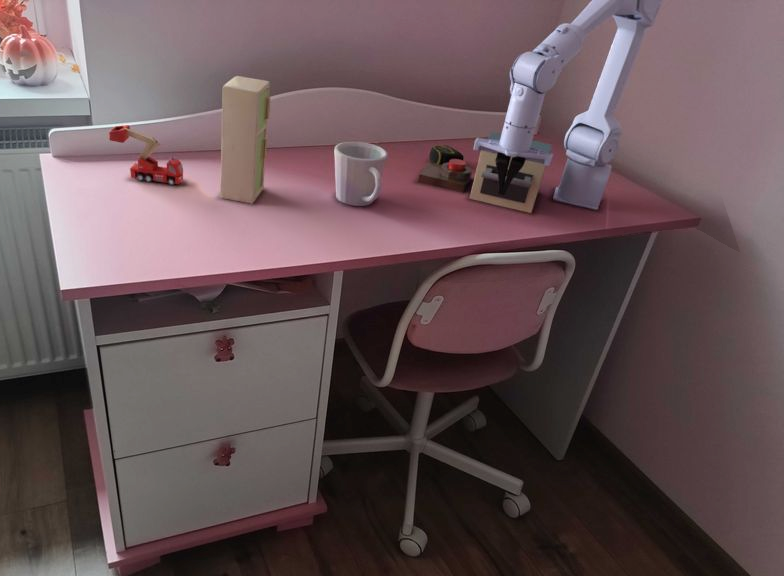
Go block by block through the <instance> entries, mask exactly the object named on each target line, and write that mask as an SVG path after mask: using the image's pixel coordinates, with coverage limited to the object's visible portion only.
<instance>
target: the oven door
mask: <svg viewBox="0 0 784 576" xmlns="http://www.w3.org/2000/svg"><path fill="white" fill-rule="evenodd" d="M496 157H497V154H494V153H490V152H485V151H481V150H480V153H479V158H478V161H477V166H476V170H475V174H474V179H473V182H472V186H471V190H470V195H469V200H473V201H477V202H482V203H485V204H490V205H494V206H498V207H502V208H503V207H504V208H507V209H512V210H516V211H520V212H523V213H529V214H532V212H533V209H534V206H535V203H536V200H535V199H537V197H538V193H539V190H540V187H539V186H541V184H540V183H542V180H543V177H544V174H543V173H545V171H546V167H545V165H544V164H541V163H536V162H532V161H527V160H525V163H524V165H523V167H522V168H521V169H520V171H519V172H518V173H517V174H516V176H515V177H514V178H513V180H512V181H511V183H510V184H509V186H508V188H507V191H506V193H505V195H501V194H498V172H497V167H496V162H495V159H496ZM512 158H513V157H511V159H510V162H511V160H512ZM509 165H510V163H509ZM508 169H509V166H508ZM507 174H508V170H507V173H506V178H507ZM542 176H543V177H542ZM506 178H505V181H506ZM541 179H542V180H541ZM504 184H505V183H504ZM538 189H539V190H538ZM536 196H537V197H536ZM534 202H535V203H534Z"/></svg>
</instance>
